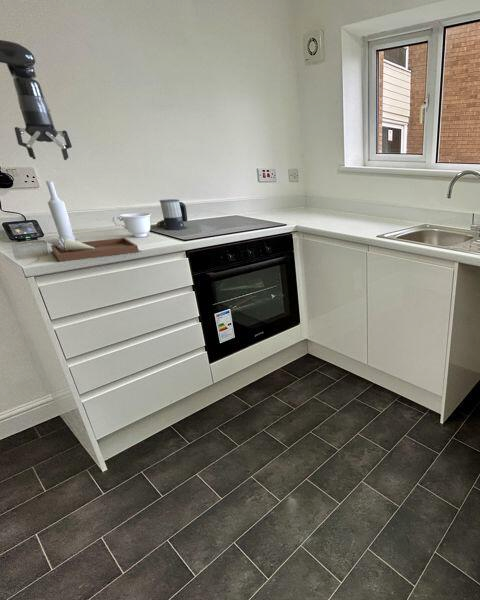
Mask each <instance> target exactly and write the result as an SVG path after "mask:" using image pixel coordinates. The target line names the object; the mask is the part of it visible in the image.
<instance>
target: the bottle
mask: <svg viewBox="0 0 480 600" xmlns="http://www.w3.org/2000/svg"><path fill="white" fill-rule="evenodd" d="M45 183H46V186H47V189H48V192H49V195H50V199H49V200H48V201H47V205H48V208H49V210H50V213H51V216H52V220H53V222H54V225H55V228H56V231H57V234H58V236H59V237H58V238H59V239H60V238H62V239H63V238H66V239H68V238H71V239H73V240H76V236H75V235H74V232H73V231H74V230H73V229H72V225H71V222H70V216H69V215H68V210H67V207H66V204H65V201H63V200H61V199H60V198H59V197H58V195H57V191H56V188H55V184H54V181H53V180H46V181H45Z"/></svg>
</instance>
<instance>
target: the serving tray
mask: <svg viewBox="0 0 480 600" xmlns="http://www.w3.org/2000/svg"><path fill="white" fill-rule="evenodd" d="M80 242H81V243H83V244H86V245H89V246H91V247H94V249H85V250H69V251H67V250H61V249H59V248H58V247H57V246H54V245H52V244H50V247H51V250H52V252H53V254H54V256H55V257H56V259H57V260H58V262H69V261H77V260H83V259H84V260H85V259H93V258H100V257H101V258H102V257H107V256H108V257H110V256H116V255H124V254H133V253H139V252H140V251H139V248H138V245H137V244H136V243H134V242H132V241H131V240H130V239H128V238H126V237H118V238H110V239H109V238H108V239H99V240H98V239H97V240H90V241H80Z"/></svg>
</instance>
